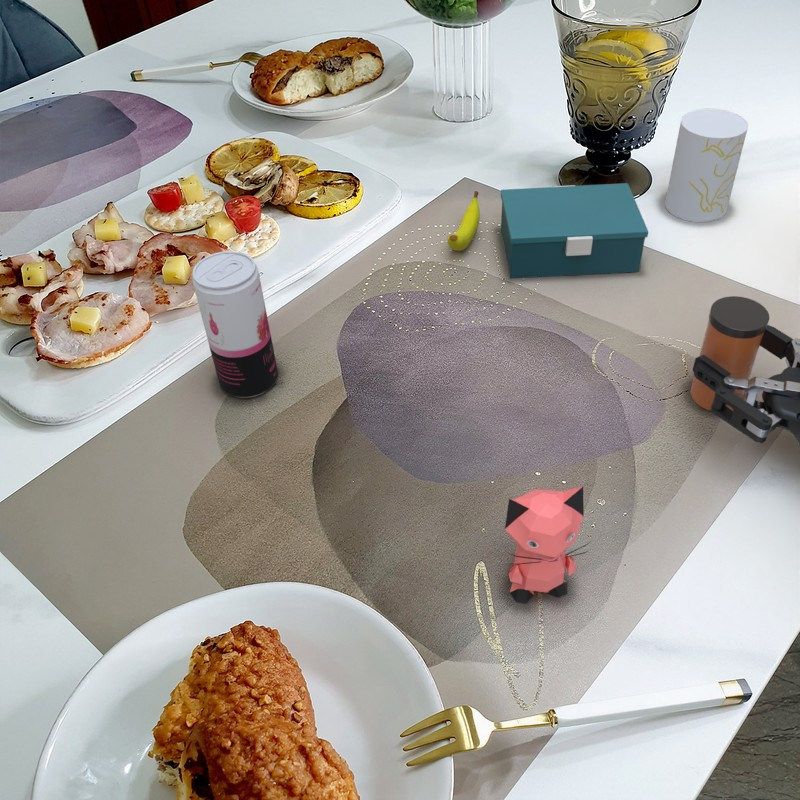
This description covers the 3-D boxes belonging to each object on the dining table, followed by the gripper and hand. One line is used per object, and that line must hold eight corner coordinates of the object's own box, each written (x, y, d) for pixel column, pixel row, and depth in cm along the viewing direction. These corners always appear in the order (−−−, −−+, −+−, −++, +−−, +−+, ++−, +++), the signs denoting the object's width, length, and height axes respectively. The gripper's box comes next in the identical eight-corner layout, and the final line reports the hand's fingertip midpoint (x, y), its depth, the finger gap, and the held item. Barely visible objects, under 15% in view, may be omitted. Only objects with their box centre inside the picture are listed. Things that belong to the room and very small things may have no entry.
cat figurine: (507, 622, 72) (513, 535, 64) (487, 556, 77) (491, 467, 68) (588, 607, 73) (605, 519, 64) (563, 543, 77) (576, 453, 69)
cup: (690, 228, 113) (708, 143, 105) (652, 199, 118) (668, 117, 110) (739, 212, 115) (762, 128, 107) (700, 185, 121) (719, 103, 112)
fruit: (469, 221, 117) (469, 188, 113) (483, 223, 116) (484, 190, 113) (444, 262, 110) (444, 228, 106) (460, 265, 109) (460, 231, 106)
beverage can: (290, 378, 95) (270, 266, 85) (243, 409, 92) (217, 297, 81) (254, 352, 99) (230, 242, 88) (207, 381, 95) (177, 270, 85)
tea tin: (733, 376, 92) (758, 294, 85) (749, 412, 88) (777, 329, 81) (683, 379, 92) (704, 297, 85) (697, 414, 88) (720, 332, 81)
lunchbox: (620, 221, 115) (627, 181, 111) (642, 275, 106) (649, 233, 102) (498, 227, 115) (500, 187, 111) (509, 281, 106) (511, 241, 102)
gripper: (934, 380, 76) (784, 290, 86) (828, 447, 71) (682, 344, 81) (903, 438, 81) (765, 347, 91) (802, 505, 76) (668, 401, 86)
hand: (726, 346), depth 86 cm, fingers open, 8 cm apart
